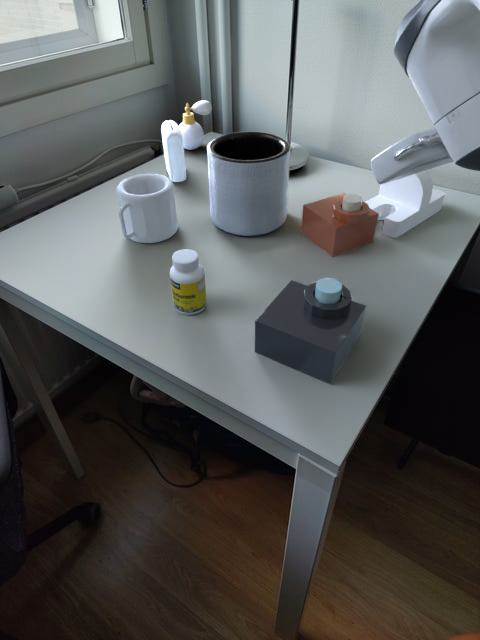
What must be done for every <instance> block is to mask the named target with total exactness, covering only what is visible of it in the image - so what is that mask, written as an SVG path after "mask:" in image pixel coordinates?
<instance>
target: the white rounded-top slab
mask: <svg viewBox="0 0 480 640" xmlns="http://www.w3.org/2000/svg"><path fill="white" fill-rule="evenodd" d="M160 132H161V139H162V146H163V156H164V162H165V168H166V172H167V174H168V176H169V177H168V178H169V179H170V180H171V181H172V182H174V183H182V182H185V181H186V180H187V169H186V168H187V167H186V159H185V148H184V147H183V137H182V133H181V130H180V128H179V125H178V123H177V122H176V121H174V120H172V119H169V120H165V121H163V122H162V124H161V128H160Z"/></svg>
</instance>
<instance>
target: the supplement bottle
mask: <svg viewBox="0 0 480 640" xmlns="http://www.w3.org/2000/svg"><path fill="white" fill-rule="evenodd" d="M199 257H200V256H199V253H198V252H197V251H196V250H194V249H191V248H183V249H179V250H176V251H174V252H173V254H172V256H171V261H172V265H171V267H170V269H169V280H170V288H171V294H172V303H173V307H174V309H175V310H176V311H177V312H178V313H179V314H181V315H185V316H186V315H187V316H191V315H197V314H200V313H201V312H202V311H204V310H205V309H206V307H207V301H208V299H207V288H206V287H207V286H206V277H205V276H206V275H205V268H204V266H203V264H201V263H200V260H199V259H200V258H199Z"/></svg>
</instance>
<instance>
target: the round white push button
mask: <svg viewBox="0 0 480 640" xmlns="http://www.w3.org/2000/svg"><path fill="white" fill-rule="evenodd" d="M346 194H347V195H345V196H344V197H343V203H342V209H343V210H345V211H349V212H357V211H360V210H361V205H362V201H363V197H362V196H361V195H360V194H356V193H346Z"/></svg>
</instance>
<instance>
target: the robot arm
mask: <svg viewBox="0 0 480 640" xmlns="http://www.w3.org/2000/svg"><path fill="white" fill-rule="evenodd" d="M393 56H394V57H395V58H396V60H397V62H398V64H399V65H400V66H401V67H402V70H403V71H404V73H405V75H406V76H407V78H409V80H410V81H411V83H412V85H413V87H414V89H415V92H416V93H417V95H418V97H419V100H420V101H421V103H422V105H423V107H424V110H425V111H426V113H427V115H428V117H429V120H430V121H431V123H432V125H433V127H432V128H429V129H425V130H421V131H418V132H415V133H412V134H409V135H407V136H405V137H403V138H401V139H400V140H397V142H394V143H393V144H392V145H390V146H388V147H387V148H385V149H384V150H383V151H381V152H379V153H377V154H376V155H375V156H373V158H372V159H371V160H370V168H371V171H372V174H373V177H374V178H375V181H376V182H377V184H378V185H381V184H384V183H387V182H391V181H394V180H397V179H401V178H404V177H407V176H410V175H413V174H416V173H419V172H422V171H425V170H427V171H429V170H431V169H435V168H437V167H441V166H445V165H447V164H450V163H454V165H456V166H458V167H459V168H463V169H466V170H470V171H476V172H480V0H418V1H417V2H416V3H415V4H414V5H413V6H412V7H411V9H410V10H409V11H408V12H407V13H406V14H405V15H404V17H402V19H401V22H400V23H399V26H398V29H397V33H396V37H395V41H394V47H393Z"/></svg>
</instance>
